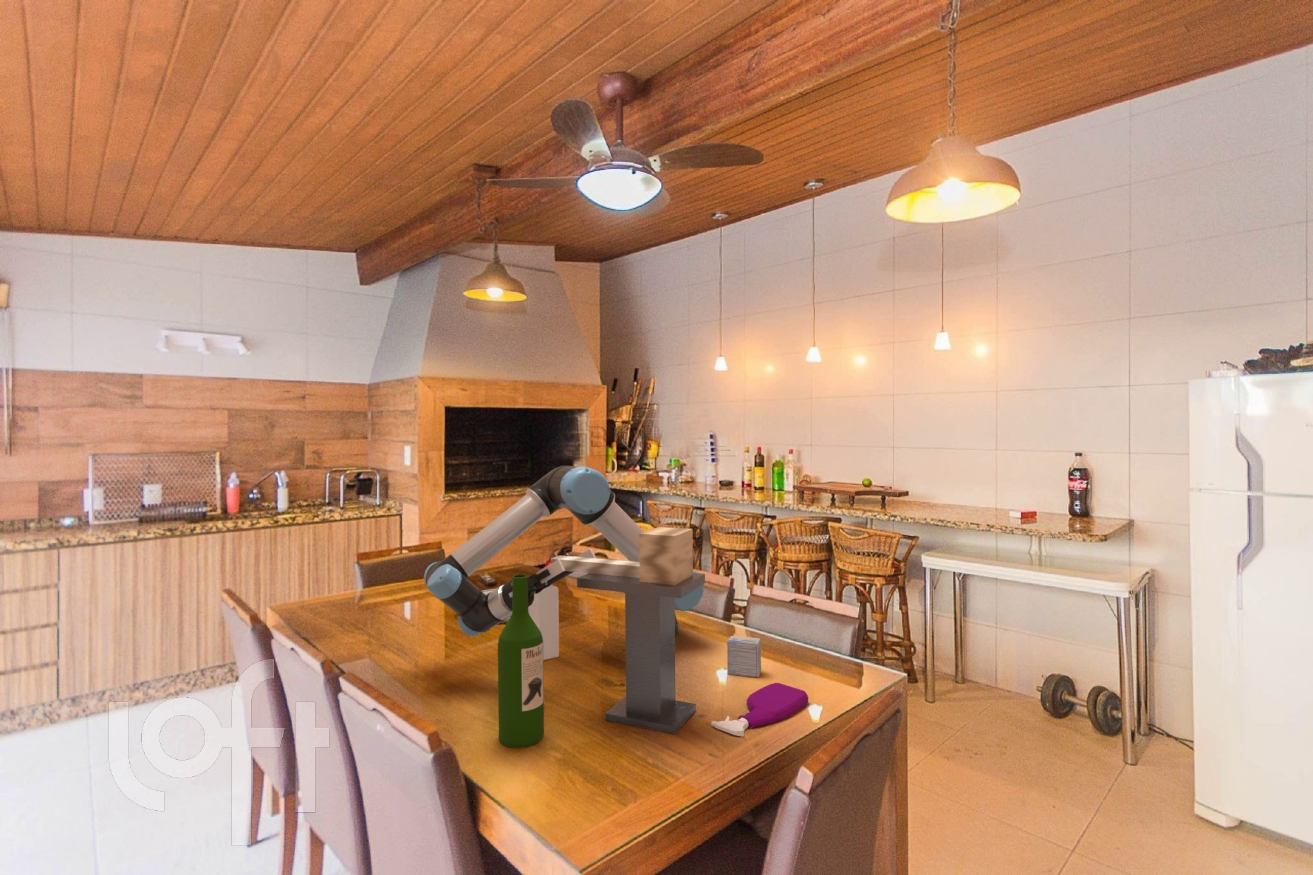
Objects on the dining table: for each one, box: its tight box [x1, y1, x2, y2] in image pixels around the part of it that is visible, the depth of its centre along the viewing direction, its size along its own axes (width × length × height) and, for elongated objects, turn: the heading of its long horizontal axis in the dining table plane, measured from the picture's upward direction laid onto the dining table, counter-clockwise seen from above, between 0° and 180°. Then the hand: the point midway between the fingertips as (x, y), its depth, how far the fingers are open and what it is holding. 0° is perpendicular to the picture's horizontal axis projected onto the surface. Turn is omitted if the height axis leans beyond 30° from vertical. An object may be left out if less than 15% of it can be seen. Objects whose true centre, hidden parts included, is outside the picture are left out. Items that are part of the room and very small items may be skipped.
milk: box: [529, 584, 560, 661], centre depth 177 cm, size 6×6×22 cm
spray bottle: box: [711, 682, 809, 737], centre depth 140 cm, size 3×11×24 cm
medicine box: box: [726, 635, 762, 678], centre depth 164 cm, size 8×4×9 cm, turn 71°
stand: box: [576, 572, 706, 735], centre depth 141 cm, size 24×14×30 cm, turn 66°
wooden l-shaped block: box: [549, 526, 694, 585], centre depth 143 cm, size 32×10×10 cm, turn 66°
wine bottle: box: [497, 574, 545, 749], centre depth 130 cm, size 9×9×32 cm
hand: (578, 559), depth 147 cm, fingers open, 13 cm apart
